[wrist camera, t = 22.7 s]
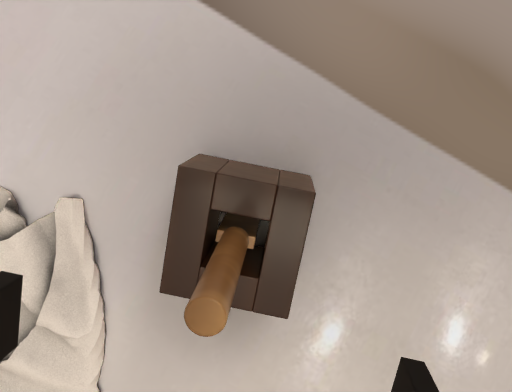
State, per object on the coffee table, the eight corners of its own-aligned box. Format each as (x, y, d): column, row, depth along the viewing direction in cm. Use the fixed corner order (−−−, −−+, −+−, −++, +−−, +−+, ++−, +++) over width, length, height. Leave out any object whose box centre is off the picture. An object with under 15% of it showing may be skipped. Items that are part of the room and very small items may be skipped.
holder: (310, 175, 31) (316, 192, 25) (287, 280, 32) (287, 319, 27) (199, 153, 31) (178, 165, 25) (182, 258, 33) (159, 292, 27)
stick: (261, 210, 31) (239, 304, 17) (257, 232, 32) (231, 343, 17) (229, 203, 32) (178, 291, 17) (225, 226, 32) (171, 330, 17)
